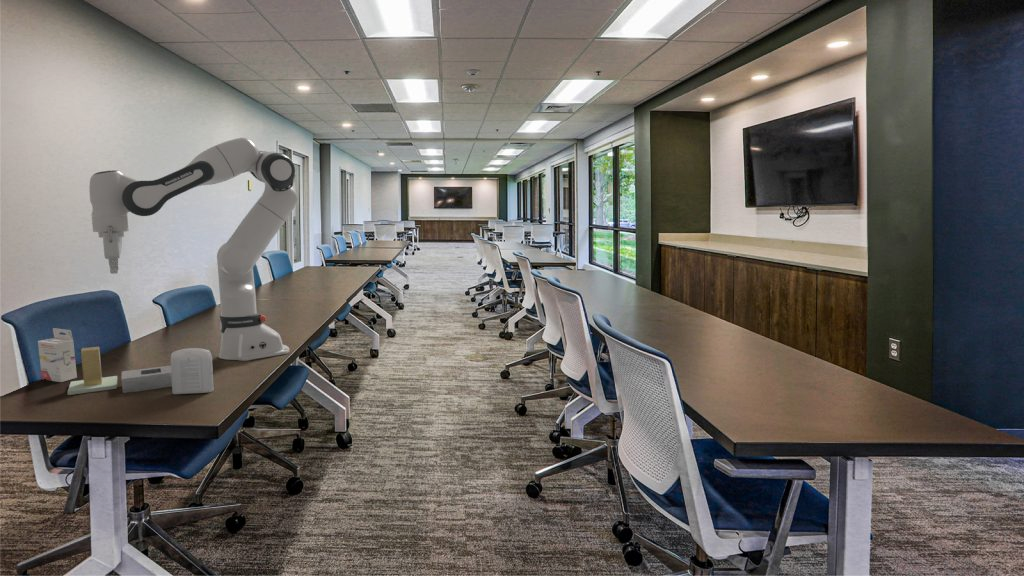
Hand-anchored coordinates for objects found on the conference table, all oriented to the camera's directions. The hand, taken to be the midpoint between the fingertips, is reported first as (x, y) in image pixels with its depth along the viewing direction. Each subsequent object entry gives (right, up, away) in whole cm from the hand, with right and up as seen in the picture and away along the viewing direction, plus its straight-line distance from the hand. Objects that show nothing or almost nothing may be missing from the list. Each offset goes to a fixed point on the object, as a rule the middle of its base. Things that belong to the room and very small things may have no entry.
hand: (114, 272), depth 177 cm
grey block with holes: (+18, -32, -8) cm, 38 cm away
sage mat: (+1, -33, -10) cm, 34 cm away
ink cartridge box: (-15, -32, -3) cm, 35 cm away
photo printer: (+32, -34, -15) cm, 49 cm away
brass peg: (+1, -32, -11) cm, 34 cm away
